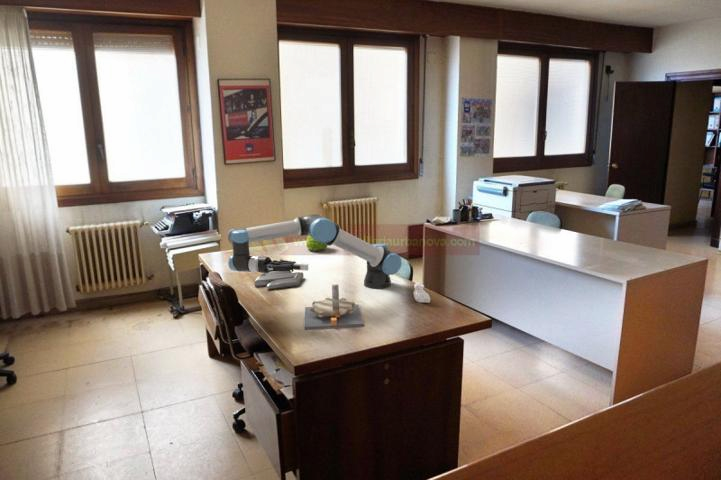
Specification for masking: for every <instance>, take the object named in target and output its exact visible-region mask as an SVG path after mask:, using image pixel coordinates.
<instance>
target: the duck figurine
mask: <svg viewBox="0 0 721 480" xmlns="http://www.w3.org/2000/svg"><path fill="white" fill-rule="evenodd" d="M413 286H414V290H413V292H412V293H413V298H414V300H415V301H416V302H418V303H427V304H429V303H430V302H431V297H430V294H429V293H428V292H426V290H424V288H425V285H424V284H422V283H421V282H419V281H418V282H417V281H416V282H415V283H414V285H413Z"/></svg>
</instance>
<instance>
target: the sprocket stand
mask: <svg viewBox="0 0 721 480" xmlns="http://www.w3.org/2000/svg"><path fill="white" fill-rule="evenodd" d="M310 307H311V306H305V307H304V325H303V326H304V330H321V329H337V328H338V329H339V328H356V327H359V328H360V327H364V321H363V317H362V313H361V310H360V305H359V304H355V307H354V308H353V313H347V314H344V315H340V317H335V316H323V317H319V316H318V314H316V313H314V312H312V313H311V312H310Z"/></svg>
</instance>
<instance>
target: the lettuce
mask: <svg viewBox="0 0 721 480" xmlns="http://www.w3.org/2000/svg"><path fill="white" fill-rule="evenodd" d="M305 241H306V242H305V246H306V248H307V249H308V250H309V249H310V251H311V250H313V251H312V252H315V251H323V250H325V249H327V247H328V245H326V244H324V243H321V242H318V241H316V240H315V239H314V238H312V237H311V236H307V237H306V240H305Z"/></svg>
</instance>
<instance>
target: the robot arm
mask: <svg viewBox="0 0 721 480" xmlns="http://www.w3.org/2000/svg"><path fill="white" fill-rule="evenodd" d="M291 236H298V237H303V236H307V237H308V236H311V237H312V238H314V239H315V240H316V241H318V242H321V243H324V244H326V245H328V246H329V247H330V246H335V247H336V248H337V247H338V248H340V250H341V249H342V250H344V251H346V252H348V253H350V254H352V255H353V256H355V257H358V258H360V259H363V260H364V261H366V273H365V276H364V279H363V285H364V286H365V287H366V288H370V289H385V288H389V287H390V286H391V285H392V279H391V277H390V275H395V274H397V273H399V271H400V270H401V267H402V264H403V263H402V258H401V256H400V255H399V254H397V253H396V252H393V251H391V250H389V246H388V244H386V243H374V244H371V243H369V242H367V241H365V240H363V239H362V238H359V237H357V236H355V235H353V234H351V233H349V232H347V231H345V230H344V229H341V226H340V225H339V224H337V223H335V222H334V221H332V220H331V219H329V218H326V217H324V216H322V215H320V214H316V213H315V214H309V215H304V216H299V217H295V218H294V220H293V219H292V220H287V221H281V222H276V223H269V224H264V225H262V224H261V225H257V226H252V227H246V228H232V229H230V230H229V231H228V233H227V239H228V242H229V243H230V244H231V245H232V246H231V247H232V253H233V254H232V255H231V256H230V257H229V259H228V263H227V264H228V268H229V270H231V271H235V272H239V273H241V272H244V273H246V272H248V273H255V274H258V273H261V274H263V273H268V272H277V271H291V272H292V273H294V271H309V264H308V263H299V262H296V261H295V260H294V261H291V260H286V259H282V258H281V259H279V260H277V259H276V260H275V259H273V260H272V259H271V257H269V256H260V255H258V256H257V255H250V244H251V243H256V242H257V243H258V242H263V241H267V240H268V241H269V240H274V239H275V240H276V239H279V238H285V237H291ZM328 246H327V247H328Z"/></svg>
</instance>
